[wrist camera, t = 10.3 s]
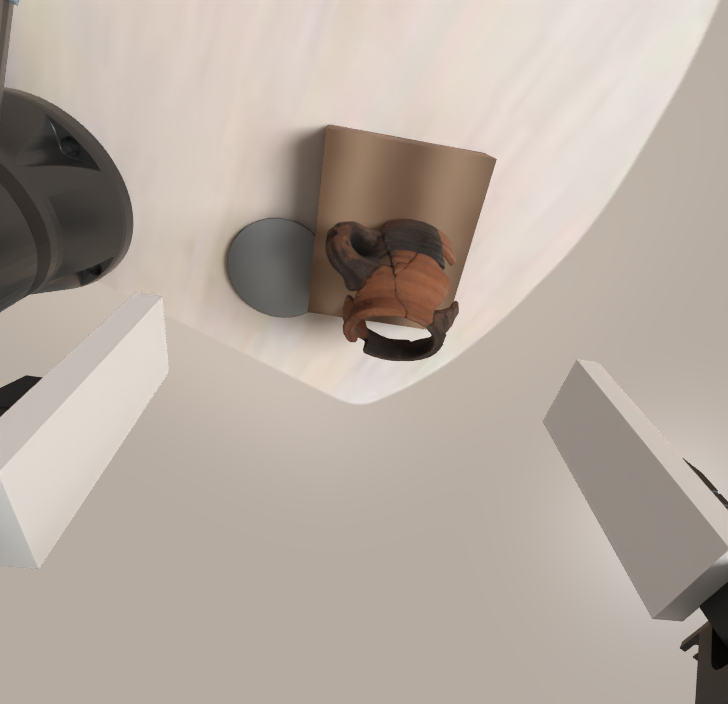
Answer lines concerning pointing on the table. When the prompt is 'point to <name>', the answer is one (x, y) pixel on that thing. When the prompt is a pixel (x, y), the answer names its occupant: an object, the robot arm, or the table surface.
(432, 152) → the plinth
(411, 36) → the table surface
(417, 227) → the pottery mug
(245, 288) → the coaster
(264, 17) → the table surface
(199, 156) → the table surface
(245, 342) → the table surface
